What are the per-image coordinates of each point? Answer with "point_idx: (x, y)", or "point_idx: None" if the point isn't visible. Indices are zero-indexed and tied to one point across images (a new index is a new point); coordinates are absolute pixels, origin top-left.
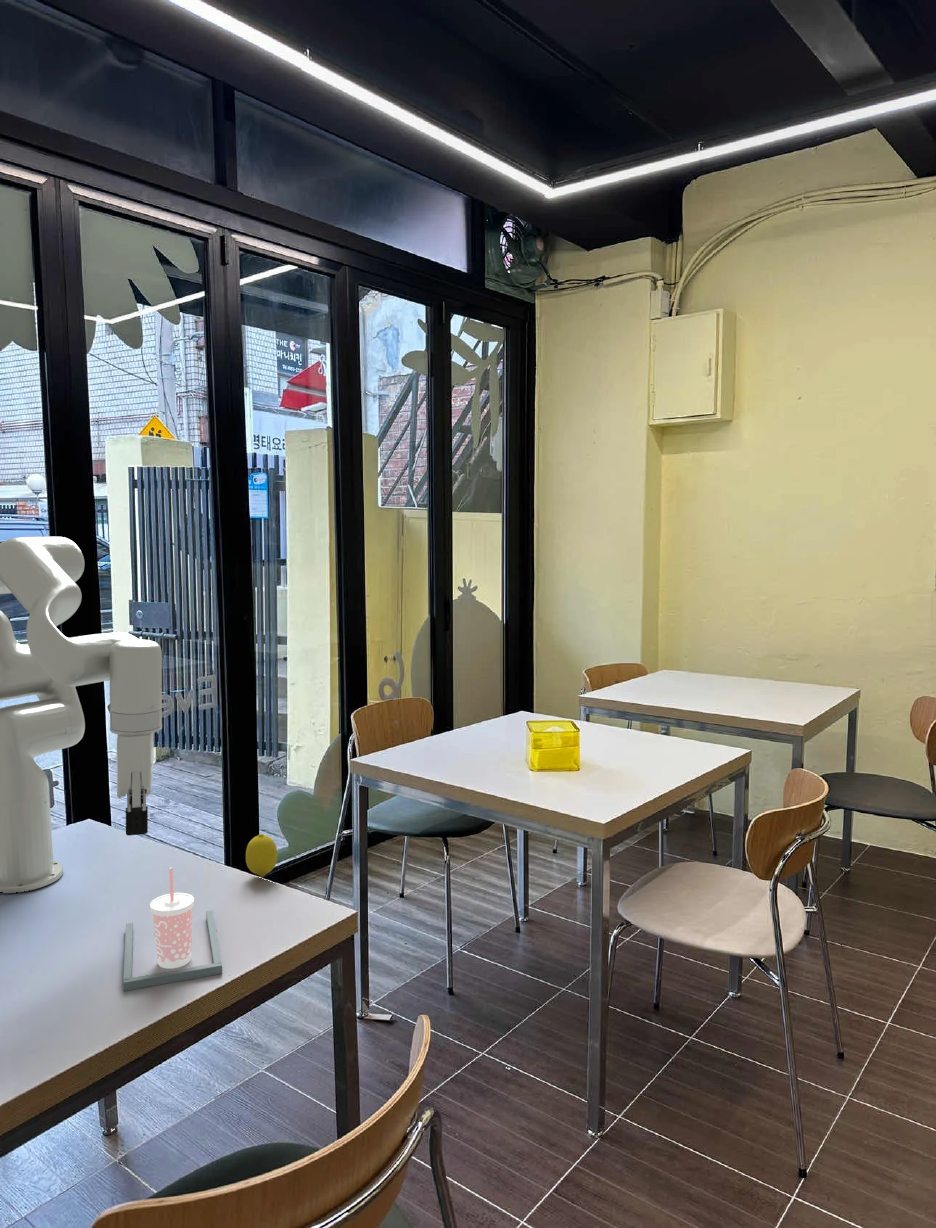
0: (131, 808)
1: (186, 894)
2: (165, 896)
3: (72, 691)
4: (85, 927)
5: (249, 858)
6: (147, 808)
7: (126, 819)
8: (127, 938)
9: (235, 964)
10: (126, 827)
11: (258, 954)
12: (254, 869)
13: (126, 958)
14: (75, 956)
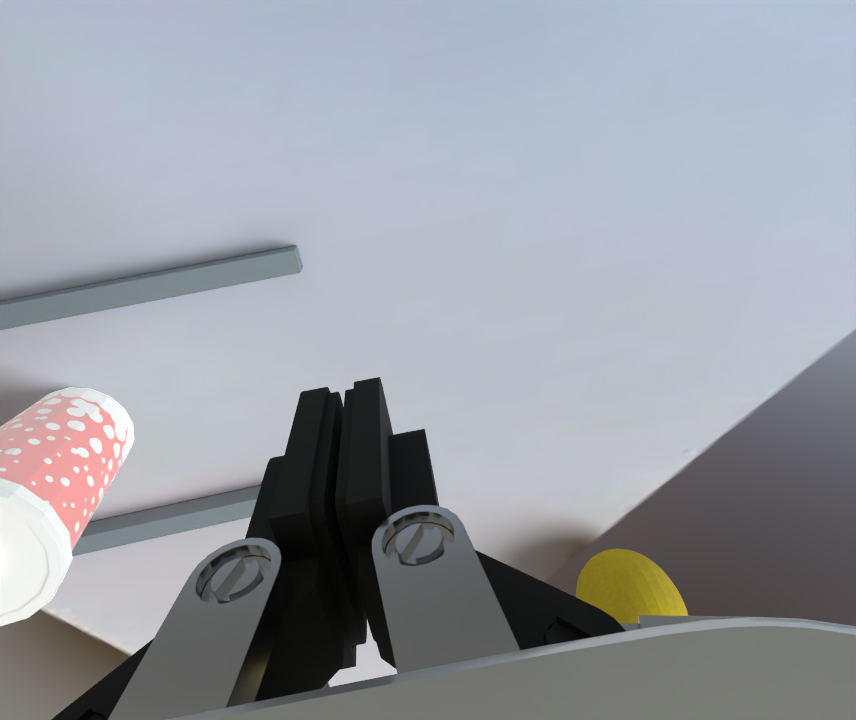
0: (145, 650)
1: (45, 592)
2: (28, 520)
3: None
4: (347, 83)
5: (605, 588)
6: (354, 665)
7: (287, 464)
8: (175, 279)
9: (65, 575)
10: (293, 423)
11: (122, 614)
12: (584, 573)
13: (21, 308)
14: (108, 100)
